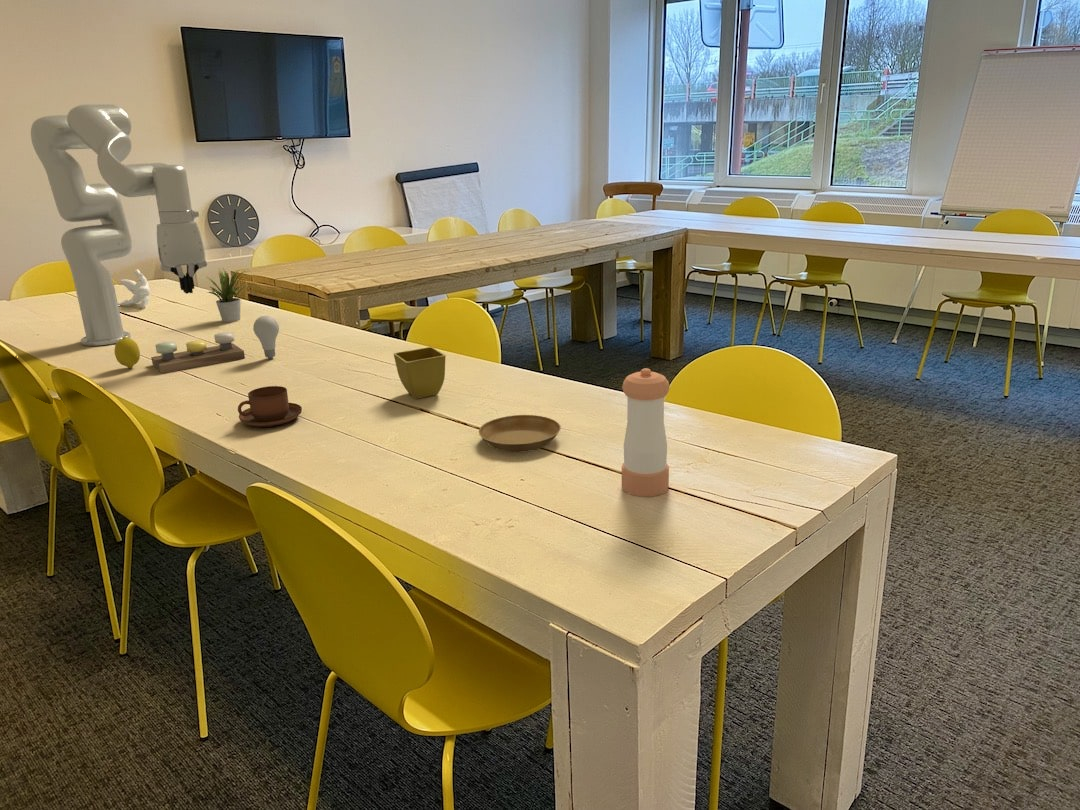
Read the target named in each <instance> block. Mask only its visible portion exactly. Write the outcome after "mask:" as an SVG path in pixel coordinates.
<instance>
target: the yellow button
mask: <svg viewBox="0 0 1080 810" xmlns="http://www.w3.org/2000/svg"><path fill="white" fill-rule="evenodd" d="M185 345H186V351H188V352H191V353H192V356H197V355H202V354H204V350H206V349H207V342H206V341H205V340H192V341H189V342H186V344H185Z"/></svg>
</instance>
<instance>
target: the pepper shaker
mask: <svg viewBox="0 0 1080 810" xmlns="http://www.w3.org/2000/svg"><path fill="white" fill-rule="evenodd" d="M670 387H671V386H670V382H669V380H668V379H667V377H666V376H665V375H663V374H662V373H658V372H655V371H651V369H650V368H647V367H646V368H642V369H641V370H640V371H636V372H634V373H633V372H632V373H631V374H629V375H627V376H626V377H625V379H624V380H623V383H622V386H621V389H622V391H623V394H624V395H625V397H627V407H626V408H627V409H626V410H627V412H626V413H627V414H626V416H627V417H626V419H627V423H626V428H625V433H624V434H625V435H624V442H623V463H622V465H621V488H622V490H623V491H624V492H625V493H627V494H630V495H631V496H636V497H644V498H645V497H646V498H647V497H648V498H649V497H657V496H660V495H663V494H665V493H666V492H667V491H668V490H669V487H670V485H669V482H670V467H669V464H668V463H667V461H668V460H667V459H668V458H667V457H668V456H667V455H668V440H667V434H666V426H665V397H667V395H668V393H669V390H670Z"/></svg>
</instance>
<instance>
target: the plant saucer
mask: <svg viewBox="0 0 1080 810" xmlns="http://www.w3.org/2000/svg"><path fill="white" fill-rule="evenodd" d="M561 429H562V428H561V424H560V423H559V422H558V421H557V420H555V419H553V418H550V417H547V416H542V415H537V414H536V415H535V414H515V415H507V416H503V417H498V418H494V419H491V420H489V421H487V422H485V423H484V424H482V425H481V426H480V427H479V429H478V434H479V436H480V437H481V439H482V440H484V442H485V443H487V444H488V445H489V446H491V448H494V449H496V450H497V451H498V450H499V451H500V452H501V451H503V452H507V453H526V452H532V451H537V450H540V449H542V448H544V447H546V446H548V445H549V444H550V443H552V442H553V440H554V439H555V438H556V437H557V435H558V434H559V433H560V431H561Z"/></svg>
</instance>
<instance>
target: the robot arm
mask: <svg viewBox="0 0 1080 810" xmlns="http://www.w3.org/2000/svg"><path fill="white" fill-rule="evenodd" d="M30 127H31V128H30V139H31V144H32V147H33V150H34V152H35V154H36V156H37V157H38V159H39V161H40V162H41V165H42V166H43V169H44V170H45V173H46V175H47V179H48V180H47V181H48V182H49V186H50V189H51V194H52V197H53V199H54V202H55V206H56V209H57V211H58V214H59V216H60V217H61V218H62V220H64V221H65V222H68V223H69V222H70V223H80V222H81V223H82V222H89V221H97V220H98V221H100V223H101V224H94V225H87V226H86V225H85V226H78V227H73V228H70V229H68V230H67V231H65V232H64V233H63V234H62V236H61V240H60V245H61V248H62V250H63V253H64V255H65V258H66V260H67V263H68V265H69V268H70V272H71V275H72V279H73V283H74V288H75V291H76V296H77V301H78V305H79V310H80V313H81V314H80V315H81V319H82V324H83V327H84V332H85V336H84V337H82V338H81V339H80V344H81V345H83V346H89V347H91V346H92V347H93V346H105V345H112V344H116V343H117V342H118V341H119V340H120V339H122V338H123V337H126V338H129V339H131V333H130V332H129V331H124V328H123V327H124V326H123V322H122V318H121V313H120V309H119V307H120V306H118V303H119V302H118V299H117V294H116V288H115V284H114V279H113V276H112V274H111V273H110V271H109V269H107V268H106V266H104V265H103V264H102V262H103V261H106V260H112V259H119V258H123V257H126V256H128V255H129V254H130V253H131V251H132V244H133V243H132V237H131V233H130V230H129V226H128V223H127V218H126V215H125V211H124V208H123V205H122V201H121V199H120V196H119V195H121V196H123V197H127V198H139V197H146V196H155V199H156V206H157V210H158V216H159V224H156V243H157V245H156V246H157V253H158V259H159V262H160V270H161V271H163V272H170V273H172V274H173V275H176V276H177V277H178V281H179V286H180V290H181V291H183V292H184V293H185V294H186V295H187V294H193V293H194V290H193V289H195V284H194V276H195V274H196V273H197V271H198V270H199V269H203V268H206V267H207V266H208V264H207V261H206V253H205V248H204V243H203V239H202V234H201V232H200V229H199V226H198V225H199V224H198V223H197V221H195V218H199V217H200V213H199V211H195V210H193V209H192V203H191V197H190V196H191V195H190V189H189V183H188V182H189V181H188V176H187V171H186V169H185V167H184V166H182V165H179V164H167V163H162V162H152V163H151V162H150V163H146V162H145V163H133V164H132V163H131V164H124V163H122V162H123V161H124V160H125V159H126V158H128V156H129V155H130V153H131V150H132V141H131V138H130V136H129V135H130V134H131V131H132V122H131V119H130V117H129V114H128V112H126V111H125V110H124V109H123V108H122V107H120V106H119V105H116V104H80V105H79V104H78V105H76V106H74V107H72V108H71V109H70V110H69V111H68V113H67V114H64V115H63V114H61V115H59V114H57V115H55V114H54V115H46V116H41V117H39V118H37V119H36V120H35V121H33V123H32V124H31V126H30ZM90 149H91V150H92V151H93V153H95V154H96V155H97V159H96V160H97V162H96V163H97V167H98V171H99V173H100V175H101V177H102V179H103V180H104V181H105V183H87V180H86V179H85V178H86V177H85V175H84V171H83V168H82V166H81V165H80V163H79V162H78V161H77V160H76V159H75V157H74V156H72V155H71V154H70V153H68V150H90ZM182 266H186V273H185V274H184V270H183V268H182Z"/></svg>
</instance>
